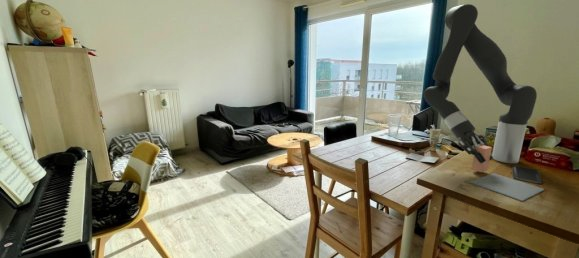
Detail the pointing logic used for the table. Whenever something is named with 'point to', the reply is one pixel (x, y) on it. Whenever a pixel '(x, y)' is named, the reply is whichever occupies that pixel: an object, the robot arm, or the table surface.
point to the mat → (507, 186)
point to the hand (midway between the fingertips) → (486, 160)
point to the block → (486, 154)
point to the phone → (526, 174)
